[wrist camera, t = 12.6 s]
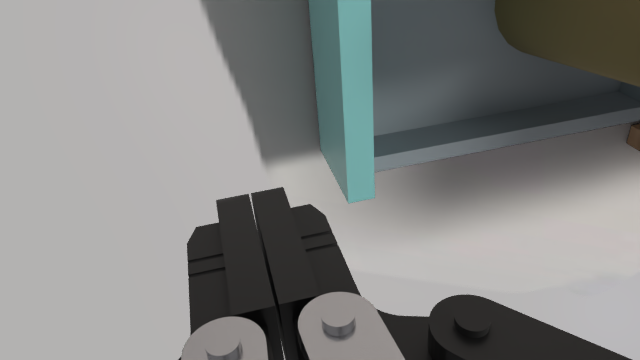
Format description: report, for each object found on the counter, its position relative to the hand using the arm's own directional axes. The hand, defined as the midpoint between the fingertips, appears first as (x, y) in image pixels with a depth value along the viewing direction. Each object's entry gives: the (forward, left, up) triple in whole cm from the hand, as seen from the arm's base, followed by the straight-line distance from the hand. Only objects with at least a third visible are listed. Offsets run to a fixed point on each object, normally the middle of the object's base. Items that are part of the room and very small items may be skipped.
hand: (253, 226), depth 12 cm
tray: (0, +13, -13) cm, 19 cm away
